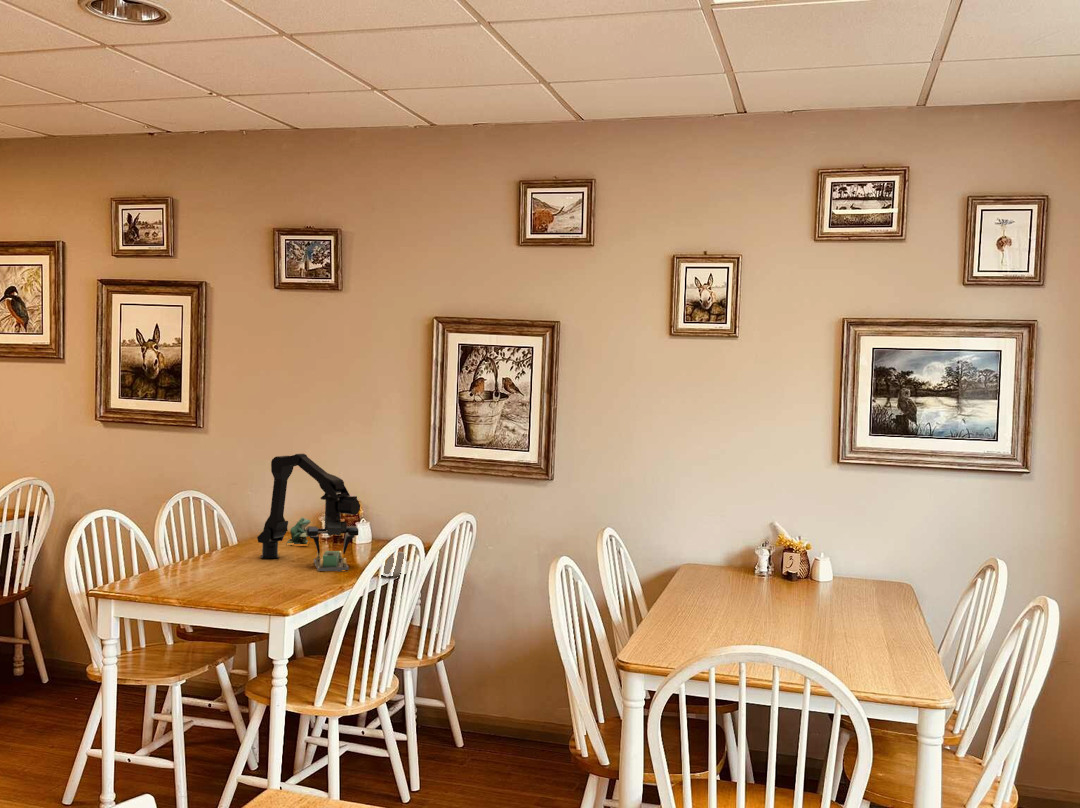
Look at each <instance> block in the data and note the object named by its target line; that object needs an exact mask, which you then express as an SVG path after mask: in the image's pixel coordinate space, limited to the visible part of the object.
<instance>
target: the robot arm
mask: <svg viewBox="0 0 1080 808" xmlns="http://www.w3.org/2000/svg"><path fill="white" fill-rule="evenodd" d="M270 461H271V463H270V470H271V471H270V472H271V474H272V476H273V487H272V493H271V494H272V495H271V496H272V497H271V505H270V514H269V516H268V518H267V519H266V521H265V523H264V526H263V530H262V531H261V532H260V534H259V535H258V536H256V538H257V542H258V543H259V544H262V551H261V553H262V554H260V559H261V558H262V559H261V560H266V559H267V558H268V559H267V560H270V559H269V558H279V559H280V556H279V554H278V552H279V542H282V541H283V540H284V537H285V535H286V534H287V532H288V527H289V526H288V525H289V520H286V519H285V516H284V511H285V504H286V503H285V502H286V495H287V488H288V481H289V478H290V477H291V475H292V473H293V471H294V467H297V466H298V467H299V468H300V469H302V471H304V472H306V473H307V474H308V475H309V476H310V477H311V478H313V480H315V481H316V482H317V483H318V484H319V488H320V489H321V490H322V491H323V492H324V494H323V495H322V496H321V497H320V500H323V501H325V502H324V503H325V505H324V506H325V507H324V528H319V527H318V526H317V525H316V526H311V525H309V526H308V525H307V527H305V530H306V535H307V536H308V537H309V539H313V541H314V544H315V548H316V550H317V551H316V552H318V554H320V555H321V550H320V537H319V534H320V535H321V534H326V535H328V536H341V535H342V534H344V539H343V540H344V541H343V549H342V550H343V551H342V555H343V554H344V555H346V551H347V548H348V546H349V543H350V541H351V540H352V539H354V538H355V536H359V528H358V527H357V526H356V525H348V523H347V521H344V520H343V521H342V520H341V519H342V517H341V516H342V514H343V515H344V514H345V515H352V516H356V515H358V514H359V512H360V510H361V504H360V500H358V496H357V495H356V496H355V495H350V493H349V490H348V489H347V488H346V487H347V486H346V485H345V481H344V480H343V479H342V478H341V477H339V476H336V475H334V474H330V473H328V472H327V471H325V470H324V469H323V468H322V467H320V466H319V465H318V464H317V463H316V462H314V461H313V460H312V459H311V458H309V456H308V455H307V454H305V453H296V454H293V455H281V456H279V455H278V456H277V455H276V456H275V457H273V458H272V460H270Z"/></svg>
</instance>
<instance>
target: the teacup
mask: <svg viewBox="0 0 1080 808" xmlns="http://www.w3.org/2000/svg"><path fill="white" fill-rule="evenodd" d="M378 553H379V552H377V553H376V554H375V555H374V556H375V557H376V555H377V554H378ZM404 553H405V552H402V551H399V552H398V557H397V563H396V566H395V569H394V572H393V577H392V578H396V577H400V575H401V574H400V572H401V567H402V564H403V559H404ZM393 563H394V558H393V555H391V556H390V558H388V560H387V562H386V564H385V566H384V573H385V574H389V573H390V570H391V569H392V567H393ZM399 574H400V575H399Z"/></svg>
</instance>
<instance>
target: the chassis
mask: <svg viewBox="0 0 1080 808" xmlns="http://www.w3.org/2000/svg"><path fill="white" fill-rule="evenodd" d="M338 551H339V561H338V563H337V565H336V566H323V560H324V558H323V557H322V558H321V553H320V554H318V551H316V558H313V564H314V563H315V564H314V566H316V567H315V568H317V569H316V571H317V570H318V571H337V572H343V571H342V570H349V569H350V566H349V565H348V563H347V557H342V556H343V551H342V550H338ZM318 571H317V572H318ZM349 571H350V570H349Z"/></svg>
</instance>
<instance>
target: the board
mask: <svg viewBox="0 0 1080 808" xmlns="http://www.w3.org/2000/svg"><path fill="white" fill-rule="evenodd" d="M339 551H340V550H325V551H324V553H323V555H322V558H324V560H323V566H336V565H337V563H338V561H339Z"/></svg>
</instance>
